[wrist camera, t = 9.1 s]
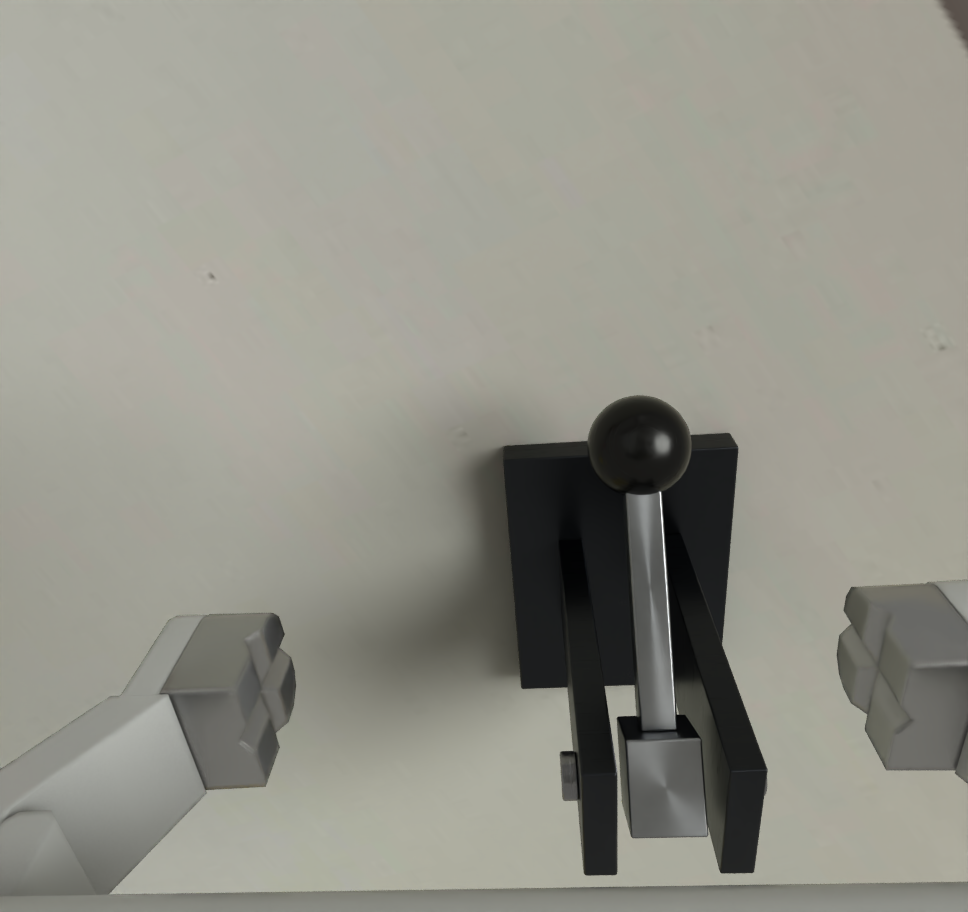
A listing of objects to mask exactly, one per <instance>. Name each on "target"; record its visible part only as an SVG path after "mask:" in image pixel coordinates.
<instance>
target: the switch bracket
mask: <svg viewBox="0 0 968 912" xmlns="http://www.w3.org/2000/svg"><path fill="white" fill-rule="evenodd" d="M691 441H692V451H691V458H690V461H689V464H688V467H687V469H686V471H685V473H684V474H683V476H682V477H681V478H680V480H679V481H678V482H677V483H676V484H675V485H674V486H672V487H671V488H670V489H668V490H666V491H664V492H663V493H662V502H663V517H664V532H665V547H666V562H667V577H668V592H669V607H670V622H671V637H672V652H673V667H674V682H675V697H676V704H677V708H678V711H679V715H686V717H687V718H688V720H689V721H690V723H691V724H692V726H693V727H694V729H695V730H696V732H697V733H698V735H699V736H700V738H701V739H702V751H703V765H704V780H705V795H706V809H707V824H708V828H709V832H710V835H711V839H712V843H713V847H714V851H715V855H716V859H717V863H718V866H719V870H720V872H721V873H753V872H754V868H755V861H756V853H757V846H758V838H759V830H760V823H761V815H762V808H763V800H764V795H765V794H766V791H767V767H766V764H765V762H764V759H763V756H762V753H761V751H760V748H759V745H758V743H757V740H756V737H755V734H754V732H753V729H752V726H751V723H750V721H749V718H748V715H747V712H746V710H745V707H744V704H743V701H742V699H741V696H740V693H739V690H738V688H737V685H736V682H735V679H734V677H733V674H732V671H731V668H730V666H729V663H728V660H727V657H726V655H725V652H724V649H723V646H722V640H723V627H724V615H725V603H726V591H727V579H728V567H729V555H730V543H731V531H732V519H733V507H734V495H735V483H736V471H737V459H738V446H737V444H736V443H735V441H734V439H733V438H732V436H731V434H730V433H723V434H706V435H691ZM587 442H588V441H584V442H567V443H550V444H532V445H515V446H504V453H503V464H504V477H505V489H506V502H507V514H508V527H509V539H510V552H511V564H512V577H513V589H514V602H515V615H516V627H517V640H518V652H519V665H520V677H521V687H522V689H533V688H562V687H568V698H569V709H570V721H571V732H572V744H573V751H562V752H560V765H561V782H562V797H563V800H564V801H578V812H579V824H580V835H581V847H582V858H583V870H584V874H585V875H616V874H617V768H616V761H615V755H614V748H613V741H612V734H611V727H610V721H609V714H608V707H607V700H606V694H605V687H604V686H619V685H635V684H634V668H633V652H632V636H631V620H630V605H629V589H628V573H627V557H626V542H625V526H624V510H623V495H621V494H618V493H616V492H614V491H613V490H611V489H609V488H608V487H607V486H605V485H604V484H603V483H602V482H601V481H600V480H599V478H598V477H597V476H596V474H595V473H594V471H593V469H592V467H591V464H590V462H589V458H588V451H587Z"/></svg>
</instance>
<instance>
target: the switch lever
mask: <svg viewBox="0 0 968 912" xmlns="http://www.w3.org/2000/svg"><path fill="white" fill-rule="evenodd" d="M587 451H588V458H589V462H590V464H591V467H592V469H593V471H594V473H595V474H596V476H597V477H598V478H599V480H600V481H601V482H602V483H603V484H604V485H605V486H607V487H608V488H609V489H611V490H613V491H614V492H616V493H618V494H621V495H623V510H624V526H625V542H626V557H627V573H628V589H629V605H630V620H631V636H632V652H633V668H634V684H635V699H636V715H637V716H623V717H617V728H618V744H619V761H620V777H621V793H622V805H623V808H624V812H625V816H626V819H627V823H628V827H629V830H630V834H631V837H632V838H670V837H707V836H708V824H707V809H706V795H705V780H704V765H703V751H702V739H701V738H700V736H699V735H698V733H697V732H696V730H695V729H694V727H693V726H692V724H691V723H690V721H689V720H688V718H687V717H686V715H677V712H676V697H675V682H674V667H673V652H672V637H671V622H670V607H669V592H668V577H667V562H666V547H665V532H664V517H663V502H662V493H663V492H664V491H666V490H668V489H670V488H671V487H672V486H674V485H675V484H676V483H677V482H678V481H679V480H680V478H681V477H682V476H683V474H684V473H685V471H686V469H687V467H688V464H689V461H690V458H691V451H692V441H691V435H690V432H689V429H688V426H687V424H686V422H685V421H684V419H683V417H682V416H681V415H680V414H679V412H678V411H677V410H676V409H675V408H673V407H672V406H671V405H669V404H668V403H666V402H664V401H662V400H660V399H657V398H654V397H650V396H643V395H636V396H629V397H625V398H622V399H619V400H617V401H615V402H613V403H612V404H610V405H609V406H607V407H606V408H605V409H604V410H603V411H602V412H601V413H600V414H599V415H598V416H597V418H596V419H595V421H594V422H593V424H592V427H591V429H590V432H589V436H588V442H587Z"/></svg>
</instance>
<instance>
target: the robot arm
mask: <svg viewBox="0 0 968 912" xmlns="http://www.w3.org/2000/svg"><path fill="white" fill-rule="evenodd" d="M844 612H845V614H846V615H847V617H848V619H849V620H850V622H851V625H849V626H848V627H847V628H846V629H845V630H844V631H843V632H842V633H841V634H840V635H839V641H838V649H837V660H838V669H839V675H840V679H841V682H842V685H843V688H844V690H845V692H846V694H847V696H848V698H849V700H850V702H851V704H853V705H854V706H856V707H857V708H859V709H860V710H862V711H863V712H865V713H866V714H868V715H867V720H866V725H865V731H866V733H867V735H868V737H869V739H870V740H871V742H872V744H873V746H874V748H875V750H876V752H877V754H878V755H879V757H880V759H881V761H882V763H883V765H884V767H885V769H886V770H956V772H955V774H956V775H958V776H959V777H960V778H961V779H963V780H964V781H965V782H966V783H968V580H952V581H937V582H927V583H926V584H924V583H921V584H901V585H882V586H862V587H851V588H850V590H849V592H848V594H847V595H846V600H845V605H844ZM284 635H285V634H284V631H283V627H282V624H281V621H280V618H279V616H277V615H275V614H274V613H242V614H209V615H179V616H175V617H174V618H172V619H170V620H169V621H168V622H167V623H166V625H165V626H164V628H163V629H162V631H161V633H160V634H159V636H158V637H157V639H156V640H155V642H154V644H153V645H152V647H151V648H150V650H149V651H148V653H147V655H146V656H145V658H144V659H143V661H142V662H141V664H140V666H139V667H138V669H137V670H136V672H135V673H134V675H133V677H132V678H131V680H130V681H129V683H128V684H127V686H126V688H125V689H124V691H123V692H122V694H121V695H120V696H110V697H108V698H107V699H105V700H104V701H102V702H101V703H99V704H98V705H96V706H95V707H93V708H92V709H90V710H89V711H87V712H86V713H84V714H83V715H81V716H80V717H78V718H77V719H75V720H74V721H72V722H71V723H69V724H68V725H66V726H65V727H63V728H62V729H60V730H59V731H57V732H56V733H54V734H53V735H51V736H50V737H48V738H47V739H45V740H44V741H42V742H41V743H39V744H38V745H36V746H35V747H33V748H32V749H30V750H29V751H27V752H26V753H24V754H23V755H21V756H20V757H18V758H17V759H15V760H14V761H12V762H11V763H9V764H8V765H6V766H5V767H3V768H2V769H0V912H968V882H916V883H849V884H781V885H714V886H646V887H579V888H512V889H445V890H379V891H312V892H246V893H180V894H113V895H108V894H109V893H110V892H111V891H112V890H113V889H114V888H115V887H116V886H117V885H118V884H119V883H120V882H121V881H122V880H123V879H124V878H125V877H126V876H127V875H128V874H129V873H130V872H131V871H132V870H133V869H134V868H135V867H136V866H137V864H138V863H139V862H140V861H141V860H142V859H143V858H144V857H145V856H146V855H147V854H148V853H149V852H150V851H151V850H152V849H153V848H154V847H155V846H156V845H157V844H158V843H159V842H160V841H161V840H162V839H163V838H164V837H165V836H166V835H167V834H168V833H169V831H170V830H171V829H172V828H173V827H174V826H175V825H176V824H177V823H178V822H179V821H180V820H181V819H182V818H183V817H184V816H185V815H186V814H187V813H188V812H189V811H190V810H191V809H192V808H193V807H194V806H195V805H196V804H197V803H198V802H199V801H200V799H201V798H202V797H203V796H204V795H205V794H206V790H214V789H232V788H250V787H266V784H267V781H268V778H269V776H270V773H271V770H272V767H273V764H274V762H275V759H276V756H277V753H278V750H279V748H280V747H279V743H278V740H277V737H276V732H277V731H279V730H280V729H281V728H282V727H283V726H284V725H286V724H287V723H288V722H289V719H290V716H291V712H292V709H293V706H294V698H295V689H296V681H295V670H294V667H293V663H292V659H291V657H290V656H289V655H288V654H286V653H285V652H284V651H283V650H282V649H281V648H279V647H280V645H281V642H282V640H283V637H284Z"/></svg>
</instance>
